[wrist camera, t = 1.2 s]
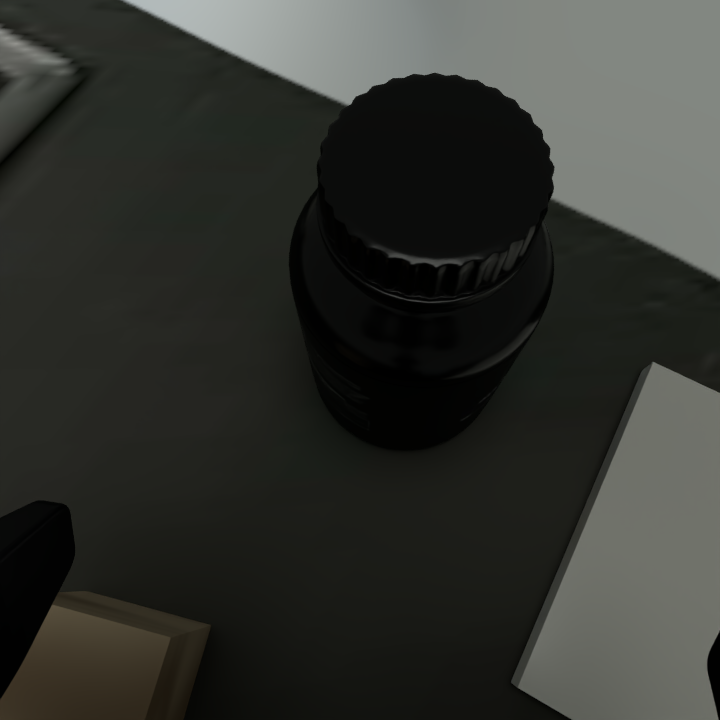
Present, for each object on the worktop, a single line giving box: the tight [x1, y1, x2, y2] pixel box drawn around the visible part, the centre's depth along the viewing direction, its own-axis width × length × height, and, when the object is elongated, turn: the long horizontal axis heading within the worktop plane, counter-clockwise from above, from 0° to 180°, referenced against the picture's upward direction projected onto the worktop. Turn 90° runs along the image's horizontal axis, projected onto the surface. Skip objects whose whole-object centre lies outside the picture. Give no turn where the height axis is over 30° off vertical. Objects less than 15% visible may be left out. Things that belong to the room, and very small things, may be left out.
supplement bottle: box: [289, 73, 554, 450], centre depth 18 cm, size 7×7×12 cm
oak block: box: [0, 591, 211, 720], centre depth 18 cm, size 4×4×4 cm
